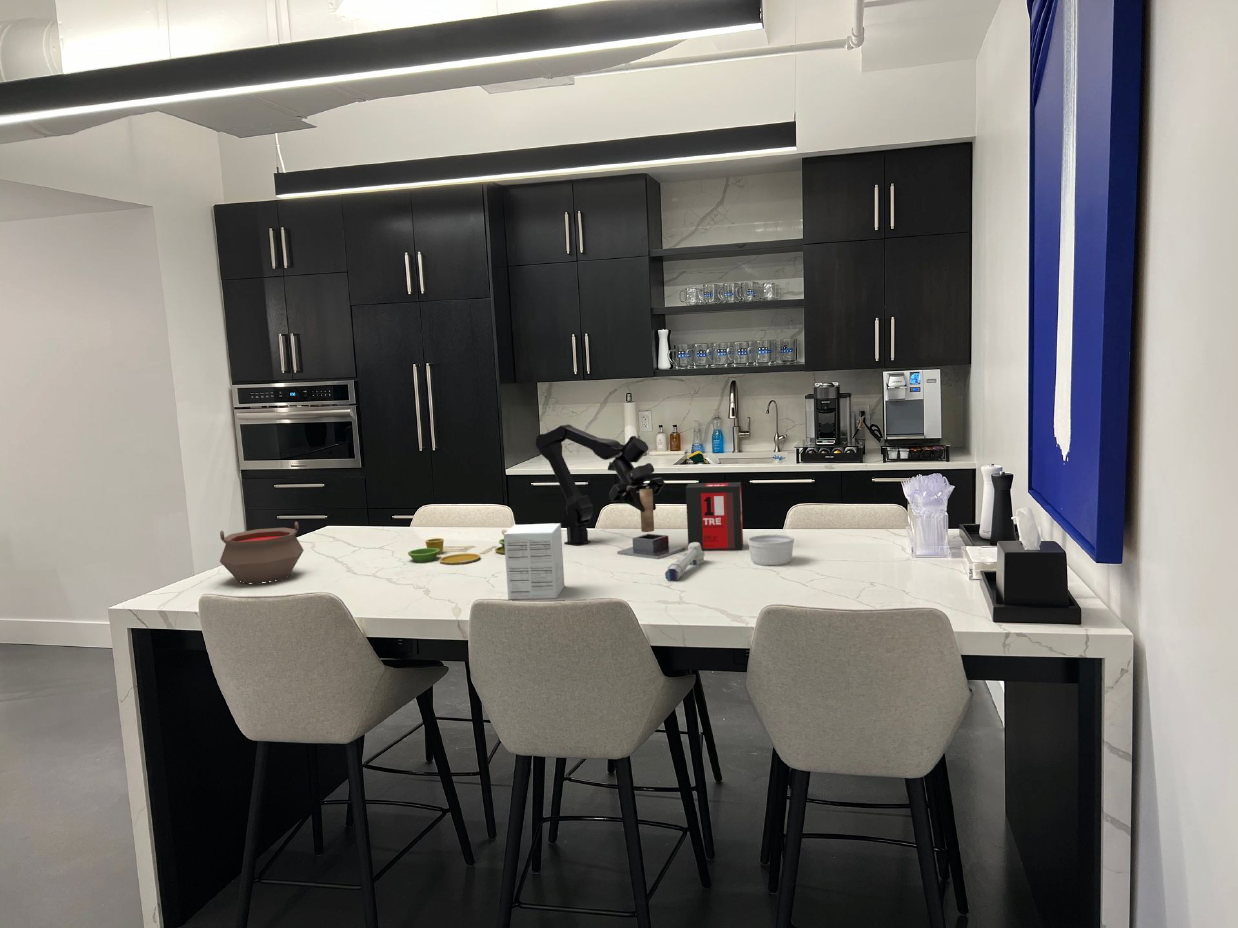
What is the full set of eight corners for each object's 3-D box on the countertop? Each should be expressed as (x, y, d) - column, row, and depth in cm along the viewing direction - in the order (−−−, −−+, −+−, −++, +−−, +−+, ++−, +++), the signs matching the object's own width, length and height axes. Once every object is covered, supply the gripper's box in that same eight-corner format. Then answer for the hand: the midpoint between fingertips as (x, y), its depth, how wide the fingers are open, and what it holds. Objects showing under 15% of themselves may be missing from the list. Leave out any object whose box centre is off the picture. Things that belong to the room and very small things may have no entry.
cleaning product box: (688, 551, 286) (685, 487, 284) (691, 545, 295) (688, 483, 293) (742, 550, 283) (739, 486, 281) (743, 544, 292) (740, 482, 290)
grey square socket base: (617, 553, 288) (616, 538, 287) (644, 545, 299) (643, 530, 298) (658, 558, 278) (657, 543, 277) (685, 549, 288) (684, 534, 288)
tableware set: (554, 548, 305) (553, 529, 304) (522, 567, 278) (520, 547, 277) (441, 547, 316) (440, 529, 316) (400, 565, 290) (399, 546, 289)
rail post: (638, 531, 286) (636, 490, 285) (646, 529, 289) (644, 488, 288) (648, 532, 284) (646, 490, 282) (656, 530, 287) (655, 488, 285)
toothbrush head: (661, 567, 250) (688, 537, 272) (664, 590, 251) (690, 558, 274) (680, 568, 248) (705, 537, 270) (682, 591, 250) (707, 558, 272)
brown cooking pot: (225, 592, 263) (219, 536, 262) (219, 577, 285) (213, 525, 283) (312, 579, 274) (307, 525, 272) (299, 565, 296) (295, 515, 294)
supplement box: (517, 587, 252) (513, 524, 250) (565, 585, 251) (561, 522, 249) (507, 600, 239) (502, 533, 237) (557, 598, 238) (553, 532, 236)
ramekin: (749, 556, 274) (749, 534, 274) (795, 556, 272) (794, 533, 271) (746, 567, 261) (745, 543, 261) (794, 567, 259) (793, 542, 258)
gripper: (612, 458, 282) (635, 497, 274) (660, 452, 292) (683, 489, 285) (598, 482, 289) (621, 520, 281) (646, 475, 300) (669, 512, 292)
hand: (649, 510), depth 285 cm, fingers closed on rail post, 4 cm apart
